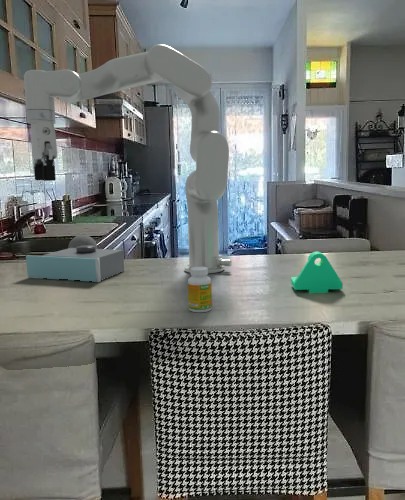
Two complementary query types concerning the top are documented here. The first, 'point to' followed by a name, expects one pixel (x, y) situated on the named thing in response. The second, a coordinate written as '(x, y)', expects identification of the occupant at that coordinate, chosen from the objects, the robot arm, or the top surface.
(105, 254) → the grey box with knob
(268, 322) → the top surface
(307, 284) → the camera mount
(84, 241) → the decorative ball
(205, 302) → the supplement bottle
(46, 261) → the door
